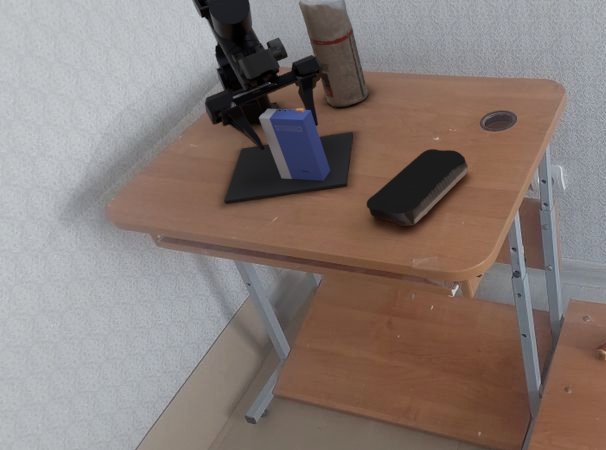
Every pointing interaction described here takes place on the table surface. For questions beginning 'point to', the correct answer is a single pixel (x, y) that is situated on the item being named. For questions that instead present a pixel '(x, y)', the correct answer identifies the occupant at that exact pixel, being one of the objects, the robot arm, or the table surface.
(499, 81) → the table surface
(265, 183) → the mat
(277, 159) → the walkman
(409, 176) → the black sponge
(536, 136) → the table surface
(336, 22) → the beige cylindrical container
